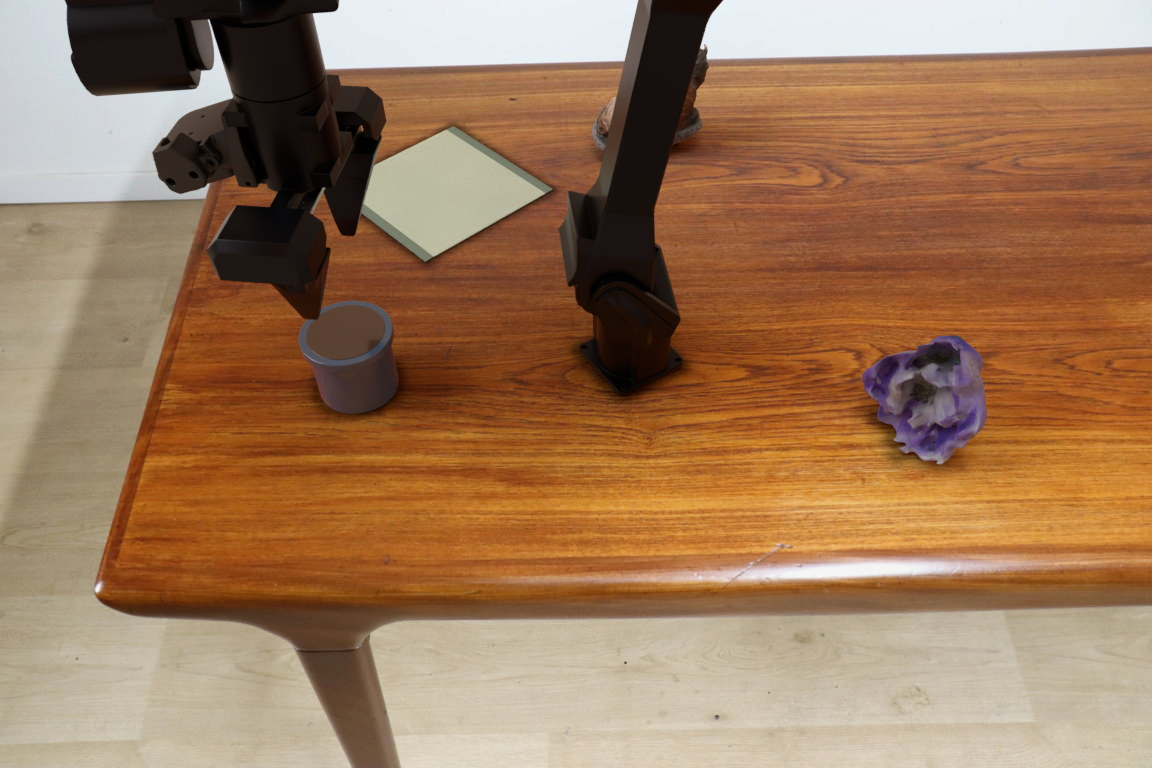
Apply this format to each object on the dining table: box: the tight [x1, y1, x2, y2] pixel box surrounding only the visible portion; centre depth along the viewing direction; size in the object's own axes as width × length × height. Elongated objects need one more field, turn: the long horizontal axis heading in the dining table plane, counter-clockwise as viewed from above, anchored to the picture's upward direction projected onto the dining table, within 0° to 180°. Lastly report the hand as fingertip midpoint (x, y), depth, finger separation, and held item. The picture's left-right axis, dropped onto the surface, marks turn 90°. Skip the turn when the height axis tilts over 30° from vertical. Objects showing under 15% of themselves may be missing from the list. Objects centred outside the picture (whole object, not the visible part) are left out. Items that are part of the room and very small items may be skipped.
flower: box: [861, 334, 988, 465], centre depth 72 cm, size 9×9×10 cm
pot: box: [297, 300, 400, 415], centre depth 75 cm, size 7×7×6 cm
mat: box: [361, 125, 554, 263], centre depth 95 cm, size 16×16×1 cm
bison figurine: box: [591, 43, 710, 153], centre depth 97 cm, size 12×7×10 cm, turn 106°
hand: (330, 274), depth 69 cm, fingers open, 9 cm apart
